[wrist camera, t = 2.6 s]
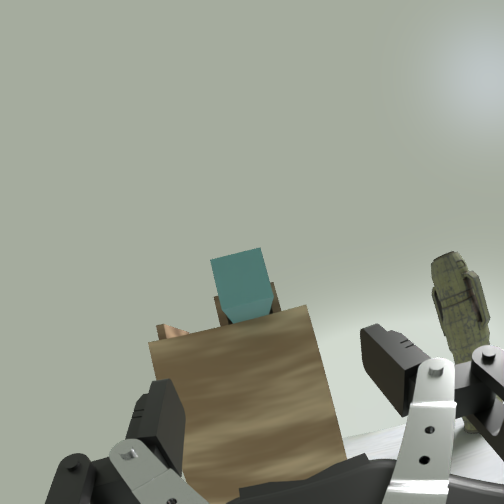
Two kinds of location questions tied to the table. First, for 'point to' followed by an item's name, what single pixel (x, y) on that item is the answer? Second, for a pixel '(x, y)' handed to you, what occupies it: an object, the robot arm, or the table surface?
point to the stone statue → (460, 310)
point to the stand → (250, 401)
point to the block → (243, 285)
